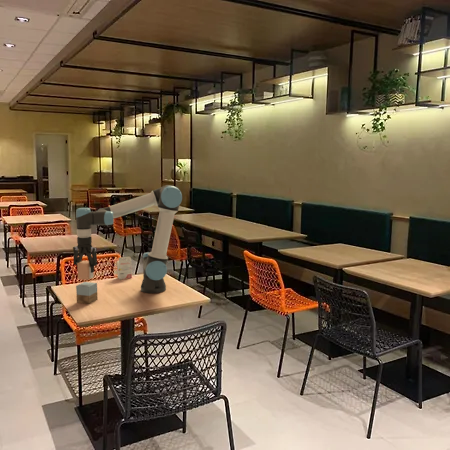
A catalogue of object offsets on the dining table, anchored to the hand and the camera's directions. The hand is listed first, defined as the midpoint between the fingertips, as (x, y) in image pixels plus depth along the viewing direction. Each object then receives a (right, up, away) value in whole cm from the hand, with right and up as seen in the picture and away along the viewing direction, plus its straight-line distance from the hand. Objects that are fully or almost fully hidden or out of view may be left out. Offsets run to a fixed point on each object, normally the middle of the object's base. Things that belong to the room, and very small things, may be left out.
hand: (85, 277), depth 247 cm
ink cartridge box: (+10, -7, +52) cm, 53 cm away
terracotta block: (0, 0, 0) cm, 0 cm away
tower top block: (0, -9, +2) cm, 9 cm away
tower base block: (0, -14, +2) cm, 14 cm away
